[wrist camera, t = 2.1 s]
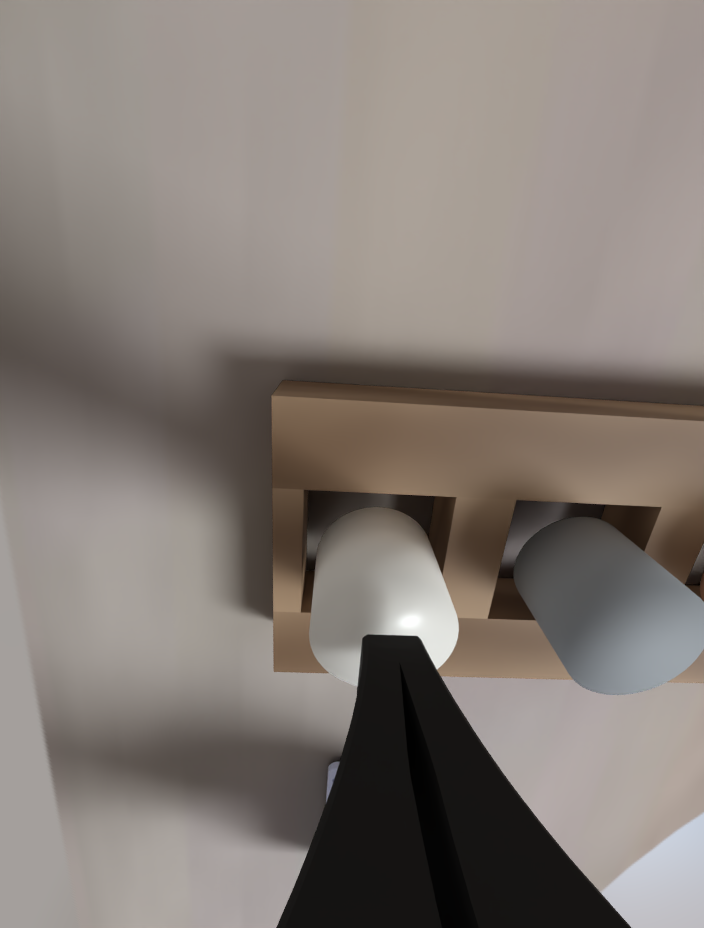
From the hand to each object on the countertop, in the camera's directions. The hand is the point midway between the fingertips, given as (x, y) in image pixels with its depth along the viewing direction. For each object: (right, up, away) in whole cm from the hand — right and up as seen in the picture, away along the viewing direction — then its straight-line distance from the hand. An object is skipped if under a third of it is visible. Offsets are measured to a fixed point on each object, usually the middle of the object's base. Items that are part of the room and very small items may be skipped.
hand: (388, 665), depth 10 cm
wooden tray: (+7, +2, +7) cm, 10 cm away
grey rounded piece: (+7, +1, +4) cm, 8 cm away
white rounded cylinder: (0, +2, +4) cm, 4 cm away
